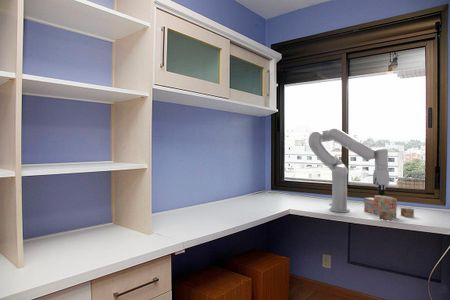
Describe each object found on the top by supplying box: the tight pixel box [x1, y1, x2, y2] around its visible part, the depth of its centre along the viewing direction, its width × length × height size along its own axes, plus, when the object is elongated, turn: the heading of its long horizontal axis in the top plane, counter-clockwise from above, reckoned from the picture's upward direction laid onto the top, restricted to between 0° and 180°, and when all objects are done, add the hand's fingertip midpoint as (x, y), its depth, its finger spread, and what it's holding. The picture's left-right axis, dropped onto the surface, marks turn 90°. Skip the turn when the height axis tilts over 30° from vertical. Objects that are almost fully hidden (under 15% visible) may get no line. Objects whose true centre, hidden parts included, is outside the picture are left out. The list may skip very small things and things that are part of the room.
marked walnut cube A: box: [379, 210, 393, 221], centre depth 180 cm, size 5×5×5 cm
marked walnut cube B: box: [400, 207, 415, 218], centre depth 188 cm, size 5×5×5 cm
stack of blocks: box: [363, 194, 398, 219], centre depth 194 cm, size 21×6×12 cm, turn 15°
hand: (381, 195), depth 193 cm, fingers closed
